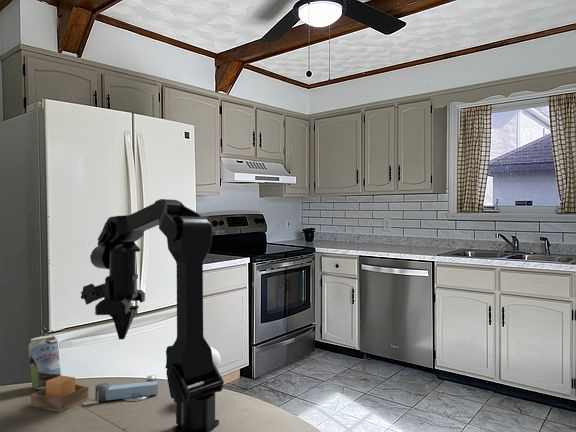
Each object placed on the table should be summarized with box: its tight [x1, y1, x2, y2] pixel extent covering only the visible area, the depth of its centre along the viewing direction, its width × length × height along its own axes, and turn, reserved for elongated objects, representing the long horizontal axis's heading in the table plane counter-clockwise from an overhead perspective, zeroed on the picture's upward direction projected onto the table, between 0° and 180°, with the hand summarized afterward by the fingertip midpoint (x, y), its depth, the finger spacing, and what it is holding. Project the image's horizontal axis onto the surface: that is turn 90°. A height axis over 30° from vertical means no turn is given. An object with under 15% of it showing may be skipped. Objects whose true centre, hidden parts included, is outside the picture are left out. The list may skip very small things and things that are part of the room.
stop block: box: [45, 375, 76, 398], centre depth 95 cm, size 4×4×4 cm
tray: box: [30, 383, 90, 413], centre depth 95 cm, size 8×8×3 cm
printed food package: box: [28, 334, 62, 390], centre depth 104 cm, size 6×7×12 cm
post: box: [146, 375, 157, 382], centre depth 102 cm, size 2×2×3 cm
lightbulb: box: [199, 346, 222, 385], centre depth 98 cm, size 6×6×11 cm
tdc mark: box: [83, 400, 100, 406], centre depth 94 cm, size 3×1×1 cm, turn 115°
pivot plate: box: [122, 395, 151, 402], centre depth 98 cm, size 6×6×1 cm
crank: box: [94, 380, 159, 402], centre depth 98 cm, size 13×3×3 cm, turn 110°
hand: (121, 339), depth 101 cm, fingers closed
